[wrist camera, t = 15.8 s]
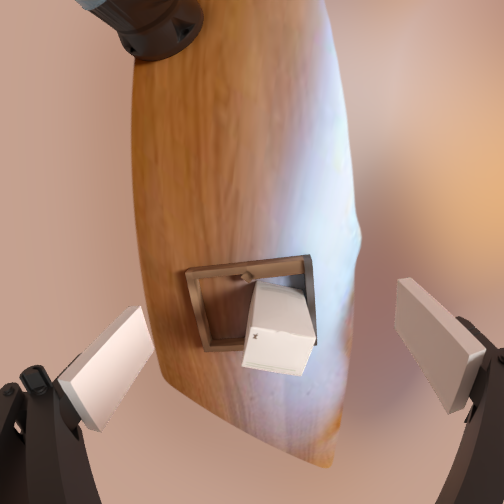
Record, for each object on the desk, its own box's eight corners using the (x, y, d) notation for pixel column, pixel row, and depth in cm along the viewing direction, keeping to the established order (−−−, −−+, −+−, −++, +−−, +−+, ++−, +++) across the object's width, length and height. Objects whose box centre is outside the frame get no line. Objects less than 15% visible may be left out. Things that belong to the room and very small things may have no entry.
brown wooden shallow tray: (189, 267, 47) (184, 273, 44) (309, 254, 45) (311, 259, 42) (207, 344, 51) (203, 353, 48) (315, 336, 49) (317, 345, 46)
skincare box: (248, 311, 48) (236, 367, 33) (256, 277, 47) (247, 324, 32) (295, 321, 48) (301, 379, 33) (305, 287, 46) (317, 338, 31)
